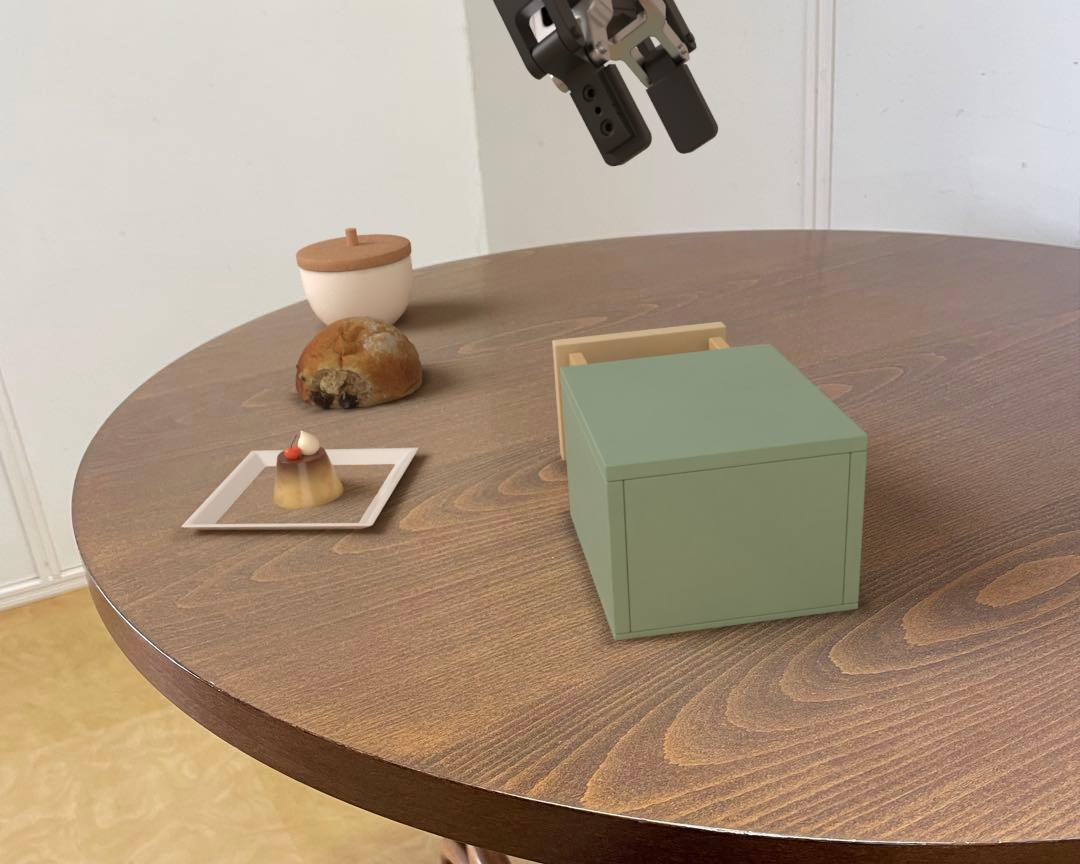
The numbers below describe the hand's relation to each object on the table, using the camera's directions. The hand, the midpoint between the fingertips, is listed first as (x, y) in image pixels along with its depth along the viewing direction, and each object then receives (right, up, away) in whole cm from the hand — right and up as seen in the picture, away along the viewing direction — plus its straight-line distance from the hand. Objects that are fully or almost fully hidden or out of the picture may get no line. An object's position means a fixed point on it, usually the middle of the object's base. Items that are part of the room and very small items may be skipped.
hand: (669, 150), depth 53 cm
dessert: (-21, -16, +21) cm, 33 cm away
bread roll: (-20, -7, +39) cm, 44 cm away
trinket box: (-23, +2, +56) cm, 61 cm away
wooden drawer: (+1, -14, +18) cm, 23 cm away
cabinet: (+3, -19, +9) cm, 21 cm away
